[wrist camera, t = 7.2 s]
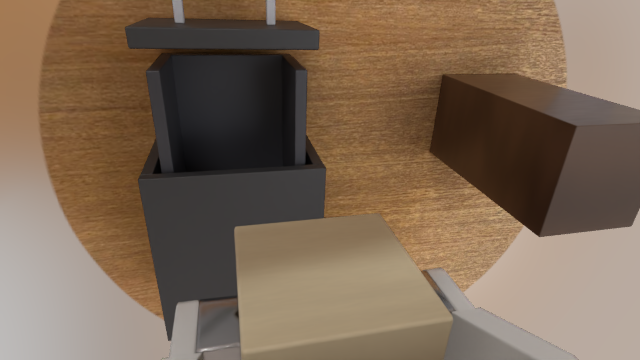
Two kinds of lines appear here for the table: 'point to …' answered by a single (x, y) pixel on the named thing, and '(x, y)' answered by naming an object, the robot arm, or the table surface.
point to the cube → (334, 293)
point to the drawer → (226, 91)
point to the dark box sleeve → (218, 220)
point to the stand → (541, 151)
